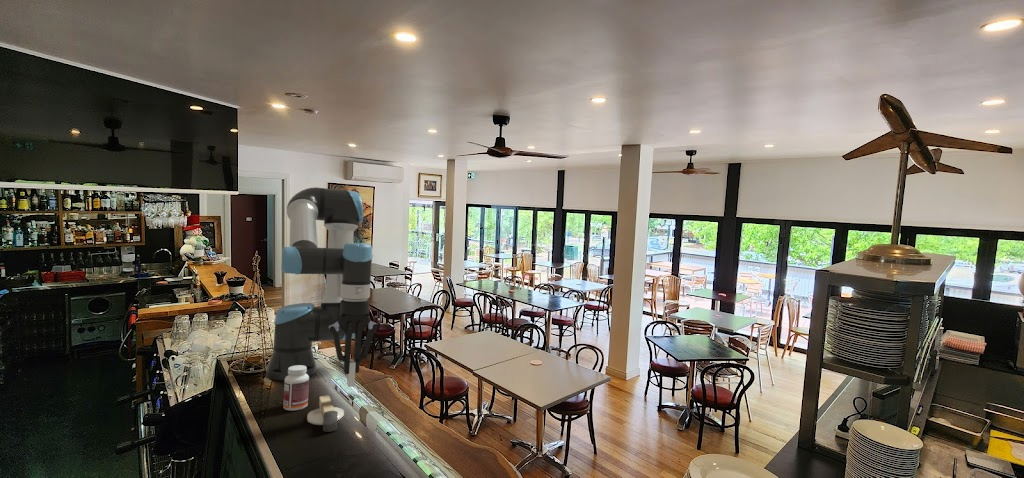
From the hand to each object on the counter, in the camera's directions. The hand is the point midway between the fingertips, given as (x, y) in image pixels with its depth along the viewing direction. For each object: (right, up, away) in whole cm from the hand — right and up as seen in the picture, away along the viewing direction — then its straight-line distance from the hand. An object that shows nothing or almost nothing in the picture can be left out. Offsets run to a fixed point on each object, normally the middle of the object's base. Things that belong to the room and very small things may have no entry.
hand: (350, 385), depth 118 cm
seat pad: (-5, -8, -3) cm, 10 cm away
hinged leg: (-4, -7, -5) cm, 10 cm away
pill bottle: (-16, -7, +2) cm, 18 cm away
